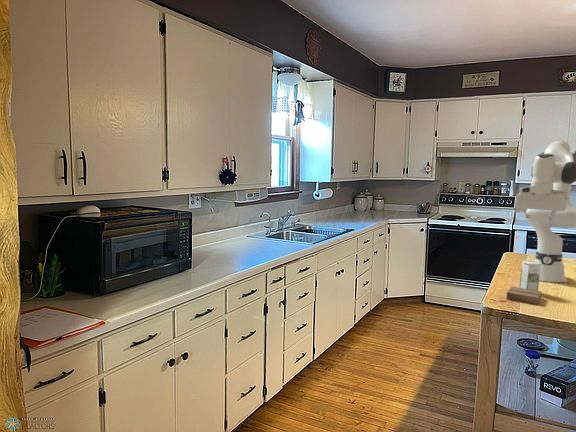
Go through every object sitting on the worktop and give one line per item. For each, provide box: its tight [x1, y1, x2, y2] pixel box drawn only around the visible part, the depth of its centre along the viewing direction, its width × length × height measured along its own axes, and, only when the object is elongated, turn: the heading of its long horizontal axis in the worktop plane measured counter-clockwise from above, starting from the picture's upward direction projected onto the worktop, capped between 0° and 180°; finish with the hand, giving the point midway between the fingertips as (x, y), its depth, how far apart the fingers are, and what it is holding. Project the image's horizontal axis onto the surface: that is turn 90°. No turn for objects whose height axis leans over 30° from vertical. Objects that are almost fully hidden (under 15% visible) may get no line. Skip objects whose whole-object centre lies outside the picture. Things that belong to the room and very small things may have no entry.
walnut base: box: [506, 286, 542, 306], centre depth 191 cm, size 12×12×3 cm
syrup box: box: [518, 260, 541, 291], centre depth 202 cm, size 6×6×14 cm
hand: (538, 219), depth 198 cm, fingers open, 8 cm apart
